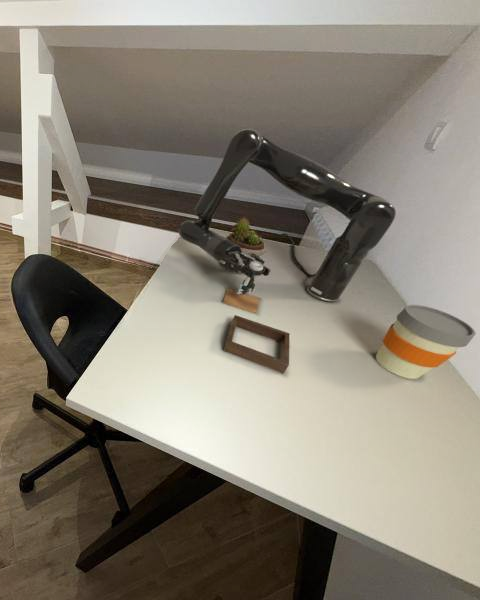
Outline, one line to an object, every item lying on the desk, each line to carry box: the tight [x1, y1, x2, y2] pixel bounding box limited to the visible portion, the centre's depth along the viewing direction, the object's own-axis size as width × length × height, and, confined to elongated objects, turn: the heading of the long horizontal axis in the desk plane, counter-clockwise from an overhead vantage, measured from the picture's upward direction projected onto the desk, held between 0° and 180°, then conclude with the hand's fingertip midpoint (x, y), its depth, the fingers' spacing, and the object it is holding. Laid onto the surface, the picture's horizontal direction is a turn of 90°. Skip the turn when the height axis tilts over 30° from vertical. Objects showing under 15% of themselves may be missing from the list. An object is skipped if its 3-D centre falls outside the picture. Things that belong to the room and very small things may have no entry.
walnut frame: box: [223, 314, 290, 374], centre depth 82 cm, size 14×14×3 cm
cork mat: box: [222, 287, 260, 314], centre depth 101 cm, size 10×10×1 cm
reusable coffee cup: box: [375, 304, 476, 380], centre depth 76 cm, size 13×13×15 cm
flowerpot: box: [225, 217, 267, 274], centre depth 115 cm, size 14×15×20 cm
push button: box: [237, 261, 265, 295], centre depth 96 cm, size 7×5×10 cm
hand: (260, 274), depth 93 cm, fingers closed on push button, 5 cm apart
